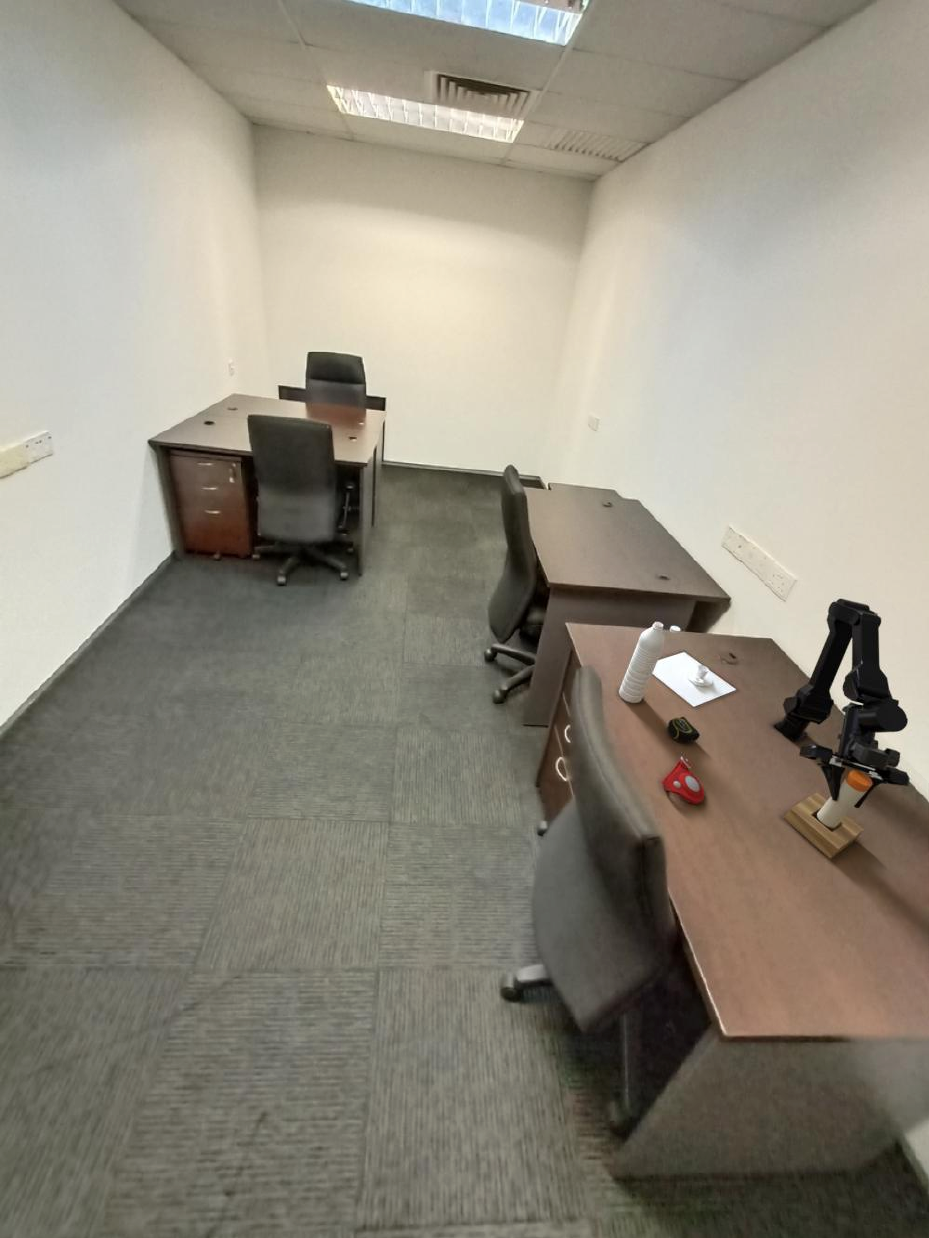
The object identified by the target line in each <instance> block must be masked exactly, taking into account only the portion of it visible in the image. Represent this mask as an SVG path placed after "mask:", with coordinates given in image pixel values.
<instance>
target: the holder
mask: <svg viewBox="0 0 929 1238" xmlns="http://www.w3.org/2000/svg"><path fill="white" fill-rule="evenodd" d="M827 801H828V799H826V798H825V797H823V796H822V795H820V794H819V793H818V792H815V793H813V794H812V795H810V796H808V797H807V798H805V799H804V800H802V801H800V802H799V803H798V804H796V805H794V806H792V807H791V808H790V809H789V810H788V812H787V813H786V815H784V817H783V820H785V821H786V822H787V823H788V824H789V825H791V827H792V828H794V829H795V830H797V832H799V833H800V834H801V835H802V836H803V837H805V838H806V839H807V840H808V841H809V842H810V843H811V844H813V845H814V846H815V847H816V848H818V849H819V850H820V851H821V852H822V853H823V854H824V855H825V856H827V858H829V859H832V858H834V857H835V856H836V855H838V854H839V853H840V852H841V851H843V850H844V849H845V848H847V847H848V846H849V845H850V844H851V843H853V842H855V840H857V839H858V838H859V836H860V835H861V834H862V833H863V832H864V831H865V829H864V828H863V827H861V826H860V825H859V824H857V823H856V822H855V821H854V820H852V819H851V818H850V817H848V816H847V815H846V816H845V817H844V818H843V819H842V821H841V822H840V823H839V824H838V825H837V826H836V827H834V828H832V827H828V826H826V825H824V824H823V823H822V822H821V821H820V820H819V819H818V817H817V813H818V812H819V811H820V809H821V808H822V807H823V806H824V804H825V803H826V802H827Z"/></svg>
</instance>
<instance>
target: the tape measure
mask: <svg viewBox="0 0 929 1238" xmlns="http://www.w3.org/2000/svg"><path fill="white" fill-rule="evenodd" d="M666 729H667V732H668V734H669V736H670V737H671V738H672V739H674V740H675V741H677V742H680V743H684V744H688V743H691V742H692V741H697V740H698V739H699V738H700V736H701V735H700V732H699V731H698V730H697V729H696V727H694V726H693V725H692V724H691V722H690V721H689V720H688V719H687V718H686V717H685V716H681V717H674V718H673V719H670V720H669V721H668V725H667V728H666Z"/></svg>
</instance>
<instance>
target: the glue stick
mask: <svg viewBox="0 0 929 1238" xmlns="http://www.w3.org/2000/svg"><path fill="white" fill-rule="evenodd" d="M872 784H873V783H872V780H871V779H870V778H869V777H868V776H867V775H866V774H864V773H862V771H859V770H855V769H852V770H851V771H849V773H848V774H847V776H846V777H845V778H844V780H843V781H842V782H840V790H839V796H838V799H837V801H833V800H832V797H831V796H830V797H829V798H828V799H827V802H826V803H825V804H824V806H823V807H822V808H821V809H820V811H819V812H818V813H817V817H818V819H819V820H818V819H817V820H818V821H819V822H820V823H821V824H823V825H824V826H825V827H827V826H828V827H832V828H834V827H836V826H837V825H838V824H839V823H840V822H841V821H842V819H843V818H844V817H845V816H847V815H848V814H849V812H850V811H852V809H853V808H855V807H854V805H855V804H856V803H857V802H858V801H859V800H860V798H861V797H862V796H863V795H864V794H865V793H866V791H867V790H868V789H869V788H870V787H871V786H872ZM828 827H827V828H828Z"/></svg>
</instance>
